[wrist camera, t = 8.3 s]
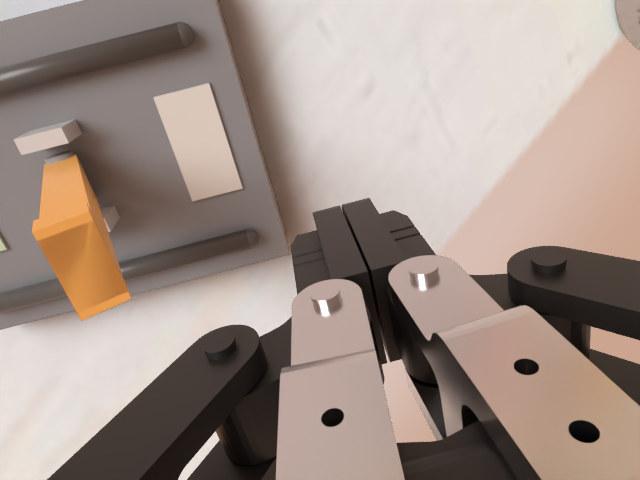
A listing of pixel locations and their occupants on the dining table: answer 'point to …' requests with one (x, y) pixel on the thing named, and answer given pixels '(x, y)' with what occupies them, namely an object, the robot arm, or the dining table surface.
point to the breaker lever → (77, 238)
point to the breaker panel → (131, 145)
